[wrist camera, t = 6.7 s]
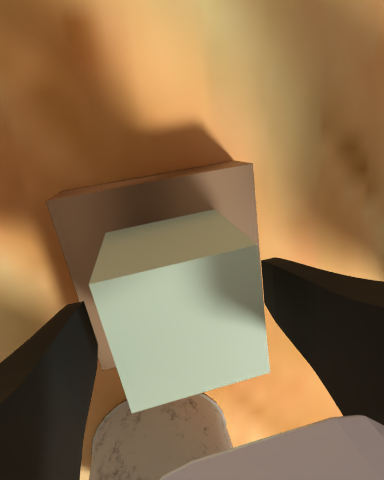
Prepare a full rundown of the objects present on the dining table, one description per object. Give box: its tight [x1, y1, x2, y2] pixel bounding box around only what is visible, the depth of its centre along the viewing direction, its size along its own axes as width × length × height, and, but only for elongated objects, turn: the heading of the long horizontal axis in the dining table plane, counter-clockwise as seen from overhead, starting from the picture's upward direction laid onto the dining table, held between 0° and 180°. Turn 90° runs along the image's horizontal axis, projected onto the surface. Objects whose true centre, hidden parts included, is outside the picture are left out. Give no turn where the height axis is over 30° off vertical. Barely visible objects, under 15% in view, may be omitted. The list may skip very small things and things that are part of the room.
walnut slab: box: [46, 161, 264, 371], centre depth 15 cm, size 9×9×2 cm
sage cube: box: [89, 209, 270, 413], centre depth 11 cm, size 5×5×5 cm
